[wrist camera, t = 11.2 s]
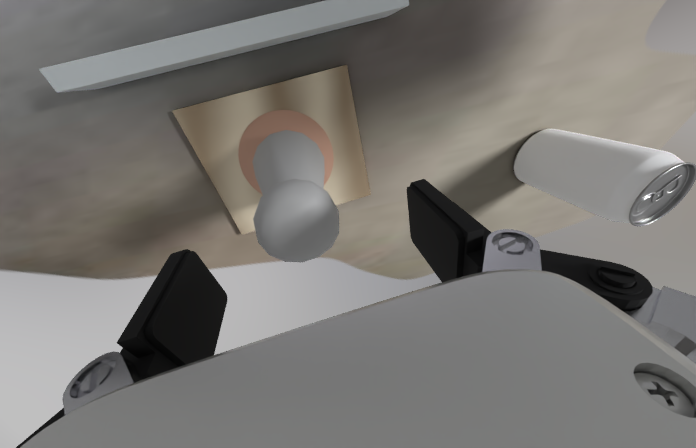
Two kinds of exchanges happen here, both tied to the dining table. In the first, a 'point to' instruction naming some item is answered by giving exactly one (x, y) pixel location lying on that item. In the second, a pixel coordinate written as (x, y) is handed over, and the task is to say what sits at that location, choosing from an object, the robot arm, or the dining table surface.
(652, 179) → the can
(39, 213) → the dining table surface
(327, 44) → the dining table surface
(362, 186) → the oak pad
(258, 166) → the salt shaker
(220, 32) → the acrylic wall
